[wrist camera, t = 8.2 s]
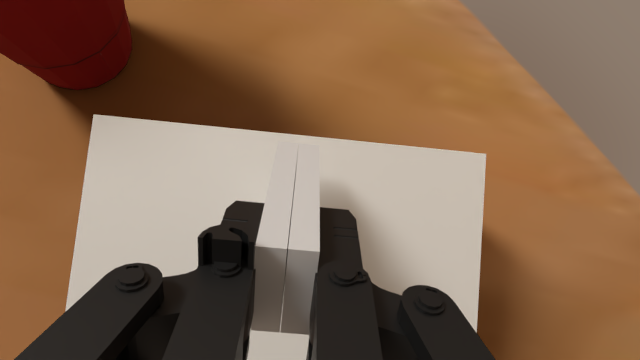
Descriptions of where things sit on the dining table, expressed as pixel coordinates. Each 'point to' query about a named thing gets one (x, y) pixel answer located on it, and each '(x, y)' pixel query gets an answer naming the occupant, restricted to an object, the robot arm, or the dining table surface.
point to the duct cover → (251, 185)
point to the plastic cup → (67, 39)
